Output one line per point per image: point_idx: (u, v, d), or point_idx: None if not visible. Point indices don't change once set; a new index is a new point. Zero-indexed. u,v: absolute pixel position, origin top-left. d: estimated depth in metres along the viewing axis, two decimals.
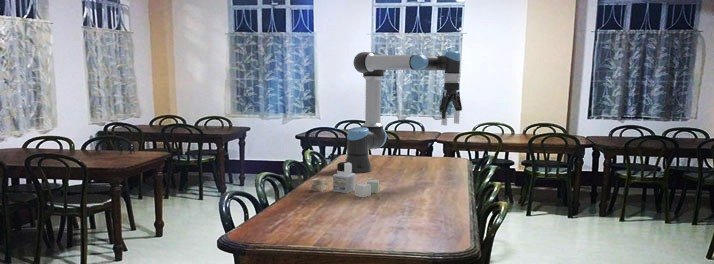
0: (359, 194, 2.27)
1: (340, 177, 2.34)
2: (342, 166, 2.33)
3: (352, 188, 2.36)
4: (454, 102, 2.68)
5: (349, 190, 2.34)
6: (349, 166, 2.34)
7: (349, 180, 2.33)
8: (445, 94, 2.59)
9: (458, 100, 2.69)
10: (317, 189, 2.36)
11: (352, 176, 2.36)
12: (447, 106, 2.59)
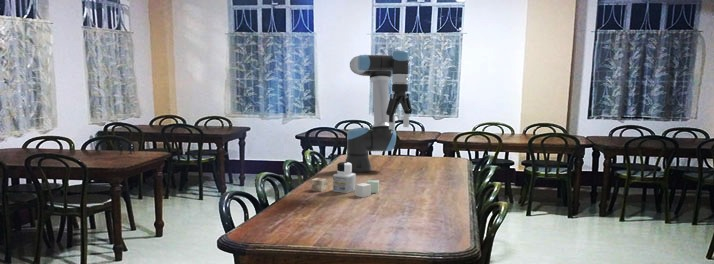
0: (359, 194, 2.27)
1: (340, 177, 2.34)
2: (342, 166, 2.33)
3: (352, 188, 2.36)
4: (403, 104, 2.51)
5: (349, 190, 2.34)
6: (349, 166, 2.34)
7: (349, 180, 2.33)
8: (392, 96, 2.42)
9: (407, 102, 2.53)
10: (317, 189, 2.36)
11: (352, 176, 2.36)
12: (395, 109, 2.43)
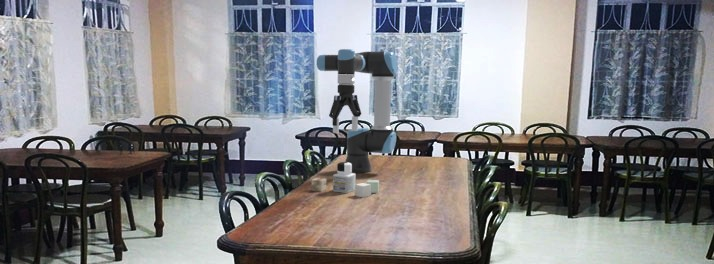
0: (359, 194, 2.27)
1: (340, 177, 2.34)
2: (342, 166, 2.33)
3: (352, 188, 2.36)
4: (350, 107, 2.37)
5: (349, 190, 2.34)
6: (349, 166, 2.34)
7: (349, 180, 2.33)
8: (336, 98, 2.28)
9: (356, 104, 2.39)
10: (317, 189, 2.36)
11: (352, 176, 2.36)
12: (339, 111, 2.28)
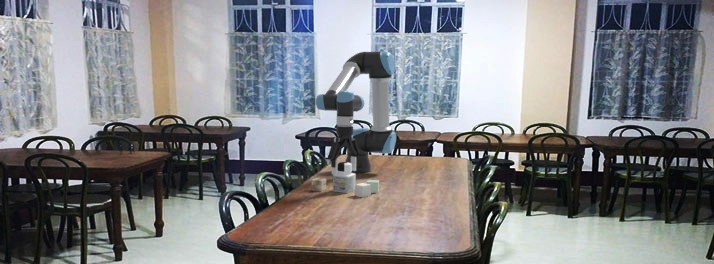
0: (359, 194, 2.27)
1: (340, 177, 2.34)
2: (342, 166, 2.33)
3: (352, 188, 2.36)
4: (349, 147, 2.38)
5: (349, 190, 2.34)
6: (349, 166, 2.34)
7: (349, 180, 2.33)
8: (335, 140, 2.29)
9: (354, 145, 2.40)
10: (317, 189, 2.36)
11: (352, 176, 2.36)
12: (337, 153, 2.30)
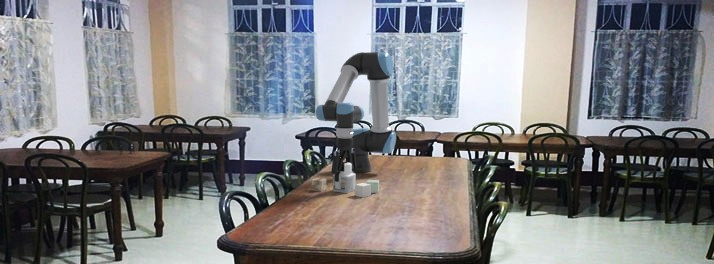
0: (359, 194, 2.27)
1: None
2: (342, 166, 2.33)
3: (352, 188, 2.36)
4: (348, 160, 2.38)
5: (349, 190, 2.34)
6: (349, 166, 2.34)
7: (349, 180, 2.33)
8: (335, 154, 2.30)
9: (353, 158, 2.40)
10: (317, 189, 2.36)
11: (352, 176, 2.36)
12: (340, 167, 2.32)
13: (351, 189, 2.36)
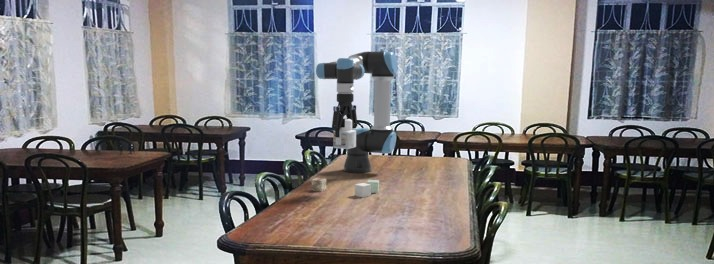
0: (359, 194, 2.27)
1: None
2: (342, 122, 2.32)
3: (352, 144, 2.34)
4: (348, 116, 2.37)
5: (350, 146, 2.32)
6: (349, 122, 2.32)
7: (350, 136, 2.32)
8: (335, 109, 2.29)
9: (353, 115, 2.38)
10: (317, 189, 2.36)
11: (353, 132, 2.34)
12: (340, 123, 2.30)
13: (352, 145, 2.34)
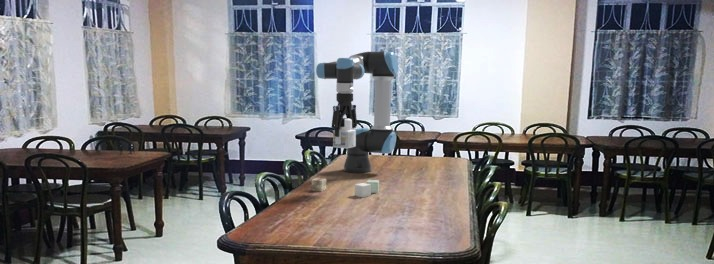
0: (359, 194, 2.27)
1: None
2: (342, 121, 2.32)
3: (352, 144, 2.35)
4: (348, 116, 2.37)
5: (349, 145, 2.33)
6: (349, 121, 2.33)
7: (349, 135, 2.33)
8: (335, 109, 2.30)
9: (353, 114, 2.39)
10: (317, 189, 2.36)
11: (352, 132, 2.35)
12: (340, 122, 2.31)
13: (351, 145, 2.35)
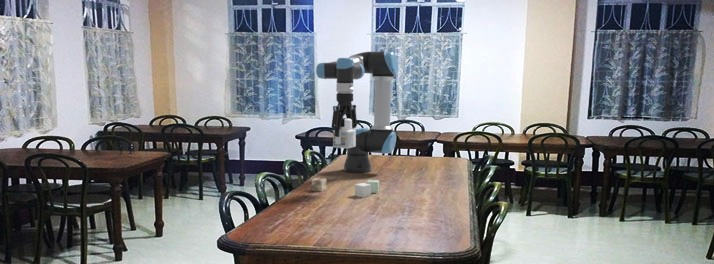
0: (359, 194, 2.27)
1: None
2: (342, 121, 2.32)
3: (352, 144, 2.35)
4: (348, 116, 2.37)
5: (349, 145, 2.33)
6: (349, 121, 2.33)
7: (349, 135, 2.33)
8: (335, 109, 2.30)
9: (353, 114, 2.39)
10: (317, 189, 2.36)
11: (352, 132, 2.35)
12: (340, 122, 2.31)
13: (351, 145, 2.35)
